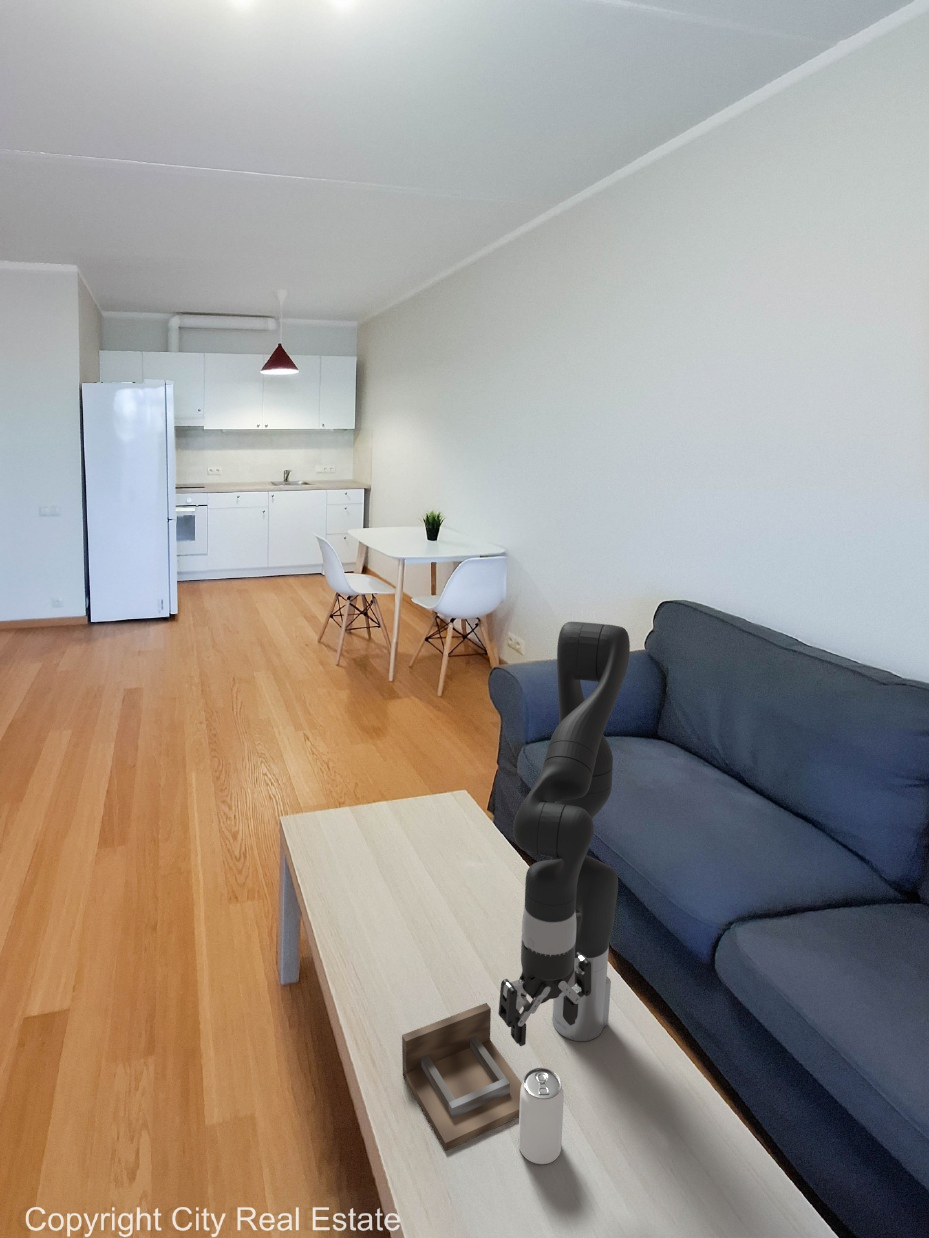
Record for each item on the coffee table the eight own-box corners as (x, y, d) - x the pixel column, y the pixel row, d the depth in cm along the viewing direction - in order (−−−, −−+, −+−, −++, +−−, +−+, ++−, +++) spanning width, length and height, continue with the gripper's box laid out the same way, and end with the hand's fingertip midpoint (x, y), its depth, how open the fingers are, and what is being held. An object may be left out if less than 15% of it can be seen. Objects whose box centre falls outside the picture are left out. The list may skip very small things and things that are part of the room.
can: (557, 1127, 125) (561, 1064, 122) (564, 1165, 119) (567, 1100, 116) (516, 1128, 125) (518, 1065, 122) (520, 1166, 119) (522, 1101, 115)
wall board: (485, 1040, 142) (486, 1002, 140) (534, 1108, 128) (536, 1068, 126) (402, 1074, 135) (402, 1034, 133) (445, 1150, 121) (445, 1108, 119)
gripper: (574, 906, 119) (569, 998, 123) (491, 934, 112) (488, 1030, 116) (606, 935, 112) (599, 1031, 116) (519, 966, 106) (515, 1067, 110)
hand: (544, 1031), depth 116 cm, fingers open, 8 cm apart
